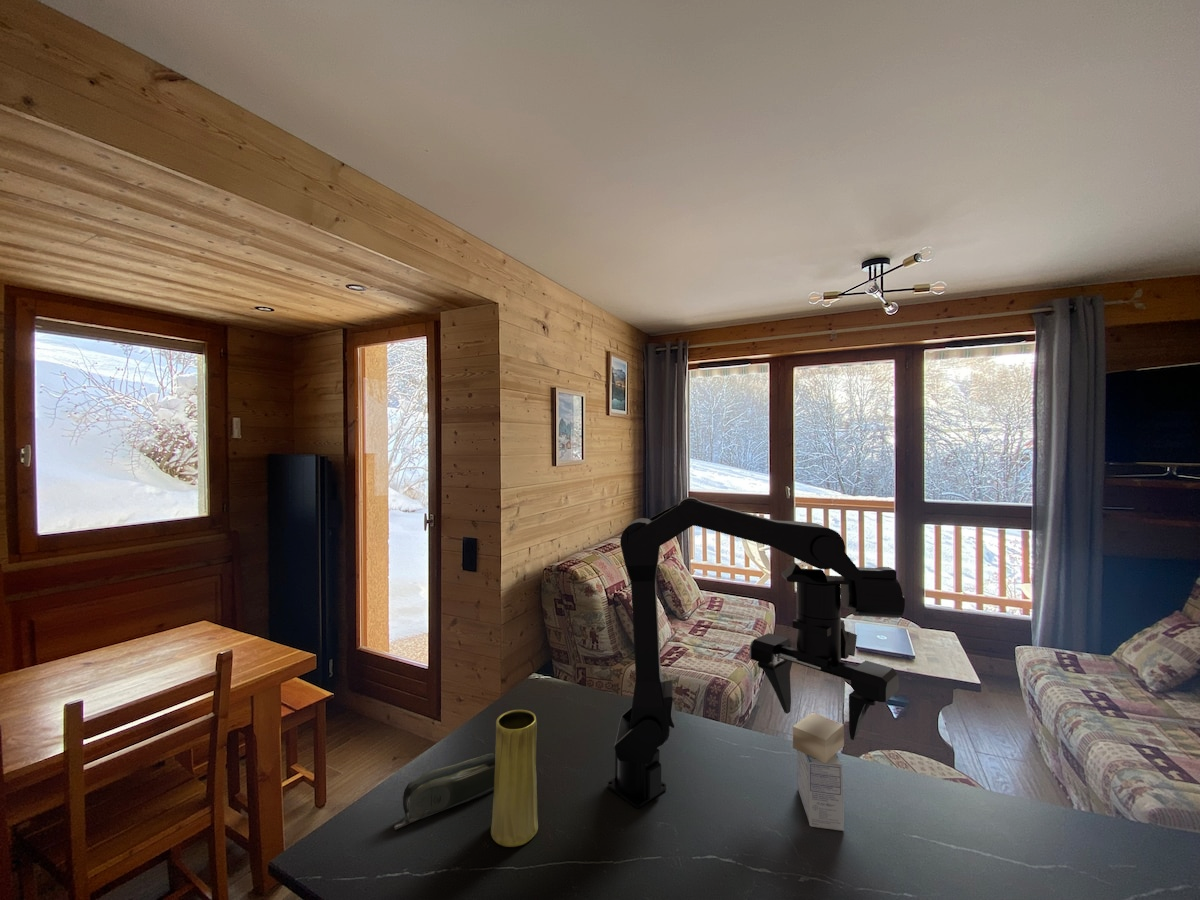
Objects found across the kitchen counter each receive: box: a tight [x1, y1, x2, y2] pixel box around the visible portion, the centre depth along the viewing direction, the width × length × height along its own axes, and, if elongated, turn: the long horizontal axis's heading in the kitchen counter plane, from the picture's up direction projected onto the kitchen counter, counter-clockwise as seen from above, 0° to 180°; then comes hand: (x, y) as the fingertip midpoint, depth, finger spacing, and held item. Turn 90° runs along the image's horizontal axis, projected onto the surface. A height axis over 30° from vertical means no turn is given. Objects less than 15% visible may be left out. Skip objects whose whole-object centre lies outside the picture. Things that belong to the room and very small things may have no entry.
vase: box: [490, 709, 539, 848], centre depth 63 cm, size 6×6×14 cm
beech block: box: [792, 711, 845, 763], centre depth 68 cm, size 4×6×3 cm
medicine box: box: [796, 750, 845, 832], centre depth 68 cm, size 8×4×9 cm, turn 169°
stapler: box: [393, 751, 495, 831], centre depth 68 cm, size 5×3×15 cm
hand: (818, 725), depth 68 cm, fingers open, 9 cm apart
